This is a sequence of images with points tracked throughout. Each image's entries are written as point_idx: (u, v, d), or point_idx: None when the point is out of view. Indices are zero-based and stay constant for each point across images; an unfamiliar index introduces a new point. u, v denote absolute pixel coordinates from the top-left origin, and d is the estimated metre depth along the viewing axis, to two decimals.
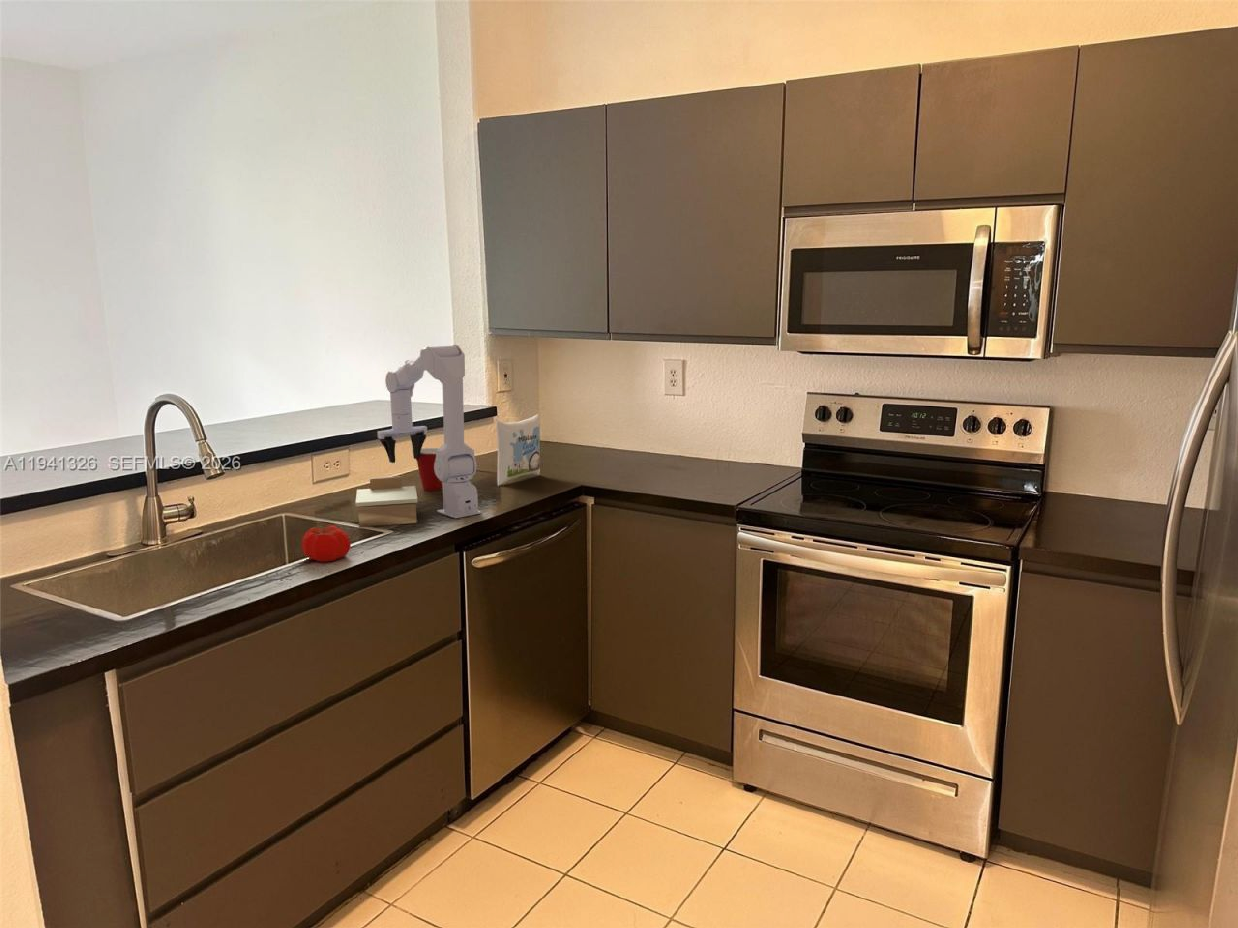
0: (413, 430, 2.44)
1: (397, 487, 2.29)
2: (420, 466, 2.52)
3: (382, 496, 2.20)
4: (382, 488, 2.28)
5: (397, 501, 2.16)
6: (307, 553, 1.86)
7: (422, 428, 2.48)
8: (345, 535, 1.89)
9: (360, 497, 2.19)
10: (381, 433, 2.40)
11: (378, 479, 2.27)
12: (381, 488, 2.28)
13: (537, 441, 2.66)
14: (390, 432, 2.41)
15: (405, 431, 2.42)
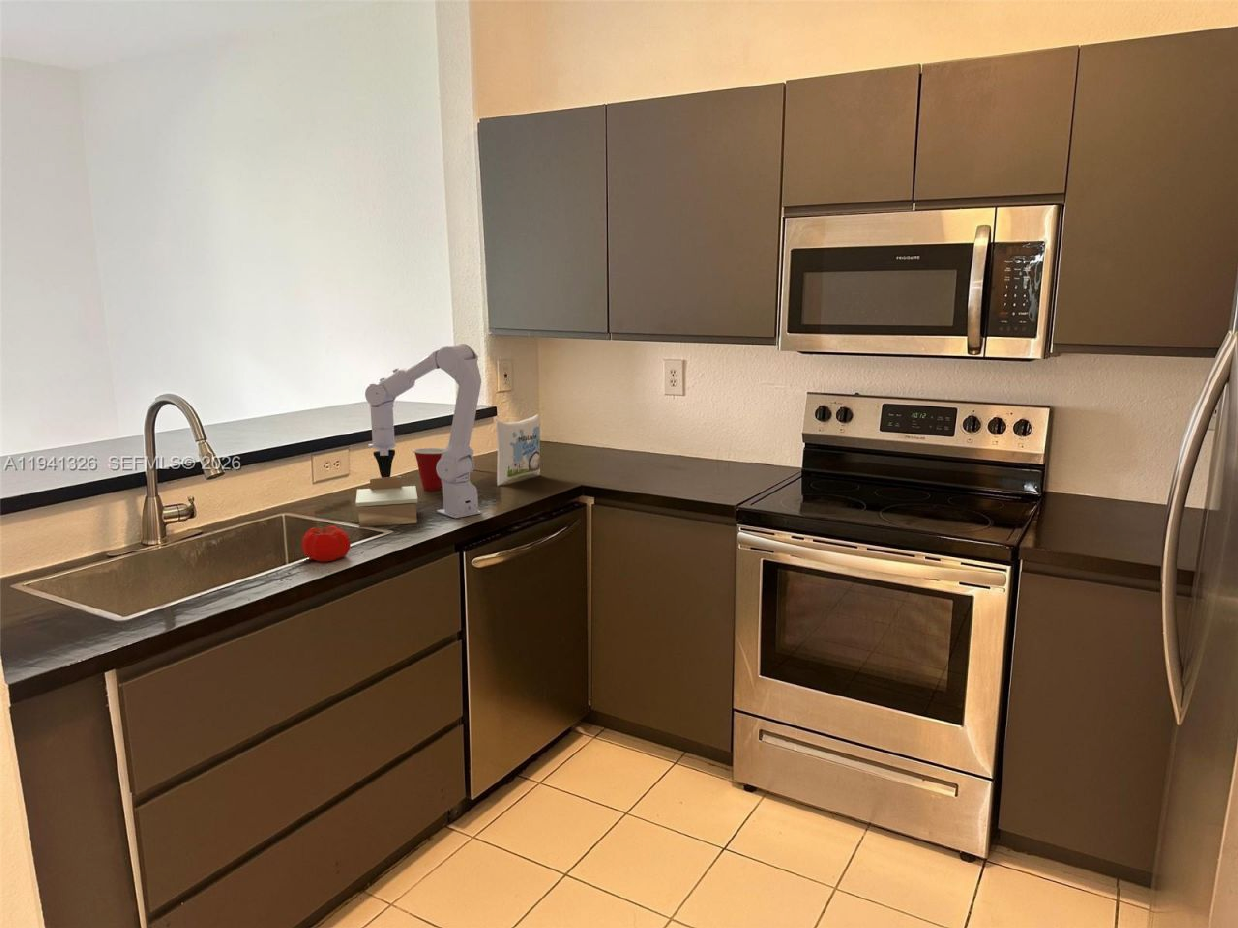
0: None
1: (397, 487, 2.29)
2: (420, 466, 2.52)
3: (382, 496, 2.20)
4: (382, 488, 2.28)
5: (397, 501, 2.16)
6: (307, 553, 1.86)
7: None
8: (345, 535, 1.89)
9: (360, 497, 2.19)
10: (387, 449, 2.25)
11: (378, 479, 2.27)
12: (381, 488, 2.28)
13: (537, 441, 2.66)
14: (390, 447, 2.28)
15: (395, 444, 2.32)
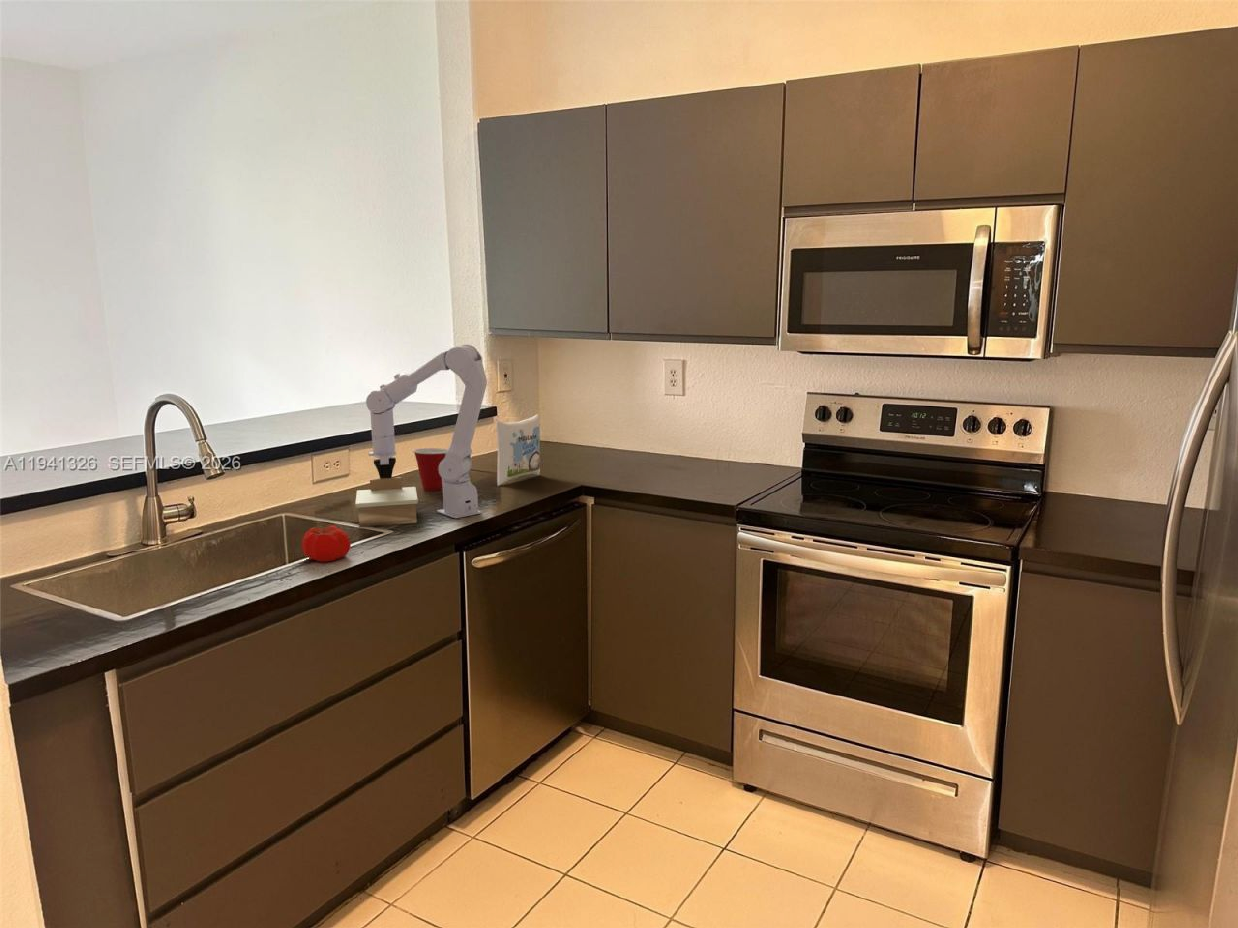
0: None
1: (397, 488, 2.28)
2: (420, 466, 2.52)
3: (382, 497, 2.19)
4: (382, 489, 2.27)
5: (397, 502, 2.15)
6: (307, 553, 1.86)
7: None
8: (345, 535, 1.89)
9: (360, 498, 2.18)
10: (388, 457, 2.21)
11: (378, 480, 2.26)
12: (381, 489, 2.27)
13: (537, 441, 2.66)
14: (390, 455, 2.24)
15: (395, 452, 2.28)
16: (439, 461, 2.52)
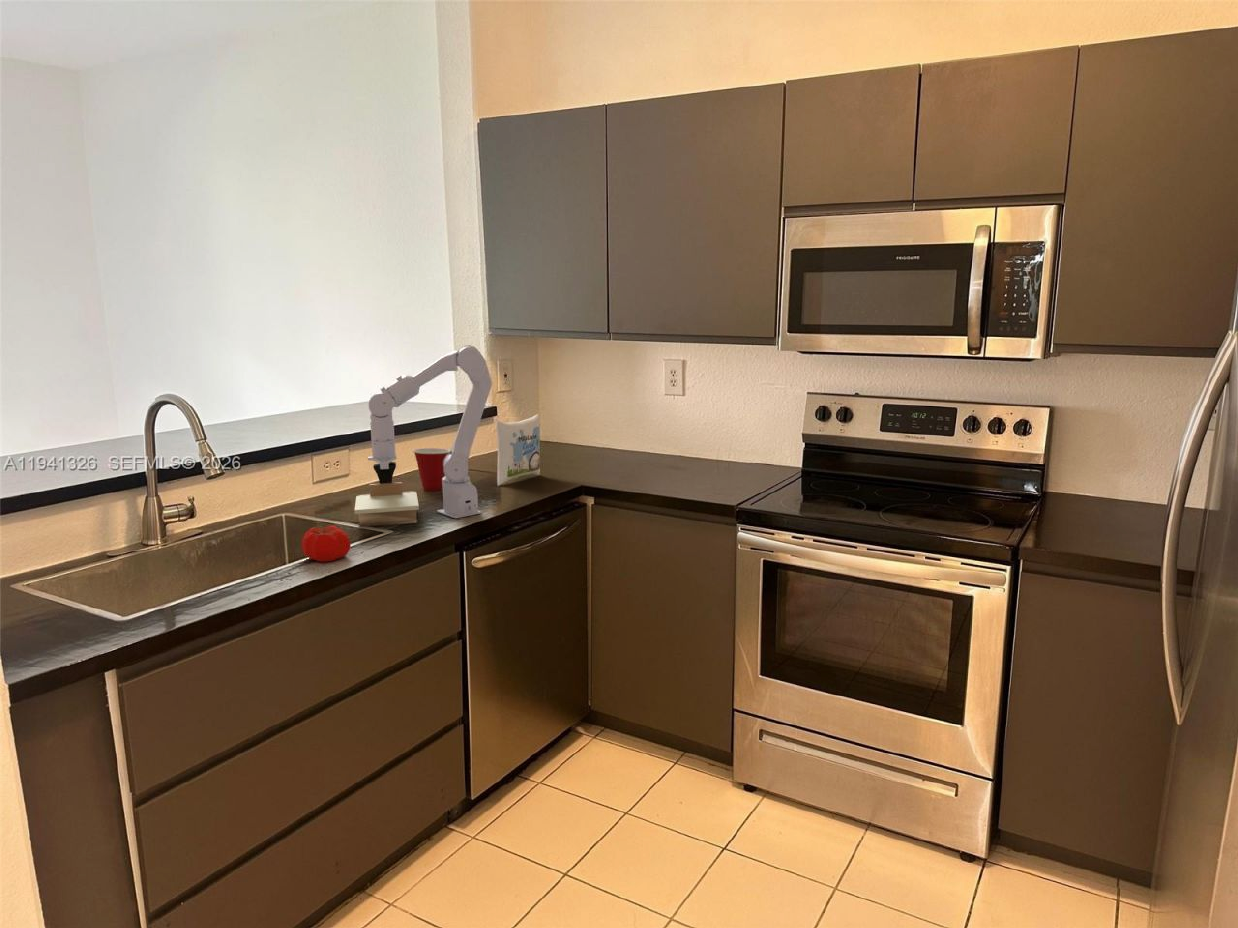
0: None
1: (398, 493, 2.21)
2: (420, 466, 2.52)
3: (382, 503, 2.13)
4: (382, 494, 2.20)
5: (398, 508, 2.09)
6: (307, 553, 1.86)
7: None
8: (345, 535, 1.89)
9: (359, 504, 2.12)
10: (388, 462, 2.15)
11: (378, 485, 2.20)
12: (381, 494, 2.20)
13: (537, 441, 2.66)
14: (390, 460, 2.17)
15: (396, 457, 2.21)
16: (439, 461, 2.52)
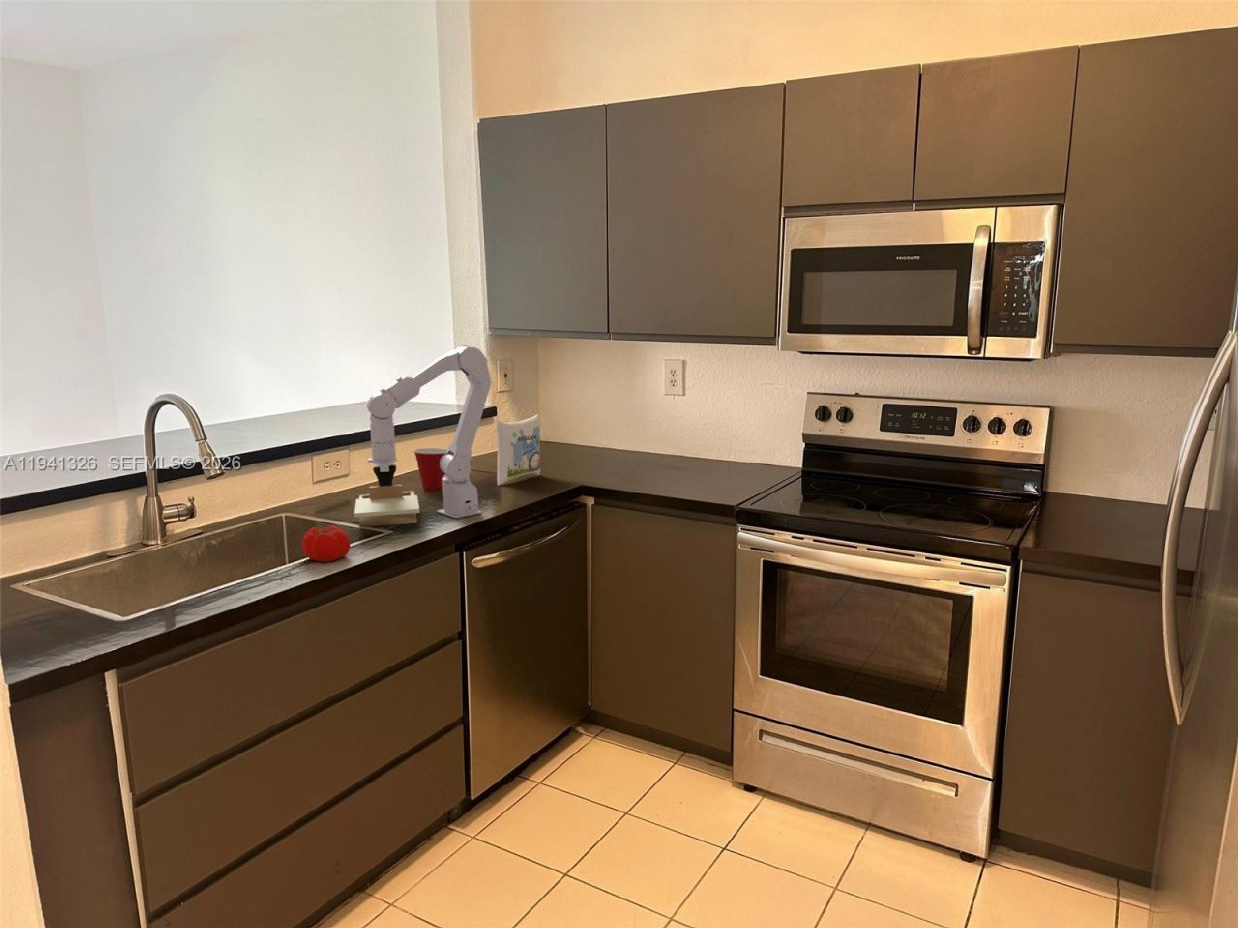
0: None
1: (398, 496, 2.18)
2: (420, 466, 2.52)
3: (382, 506, 2.09)
4: (382, 497, 2.17)
5: (398, 511, 2.06)
6: (307, 553, 1.86)
7: None
8: (345, 535, 1.89)
9: (359, 507, 2.09)
10: (388, 465, 2.12)
11: (378, 488, 2.17)
12: (381, 497, 2.17)
13: (537, 441, 2.66)
14: (390, 462, 2.14)
15: (396, 459, 2.18)
16: (439, 461, 2.52)
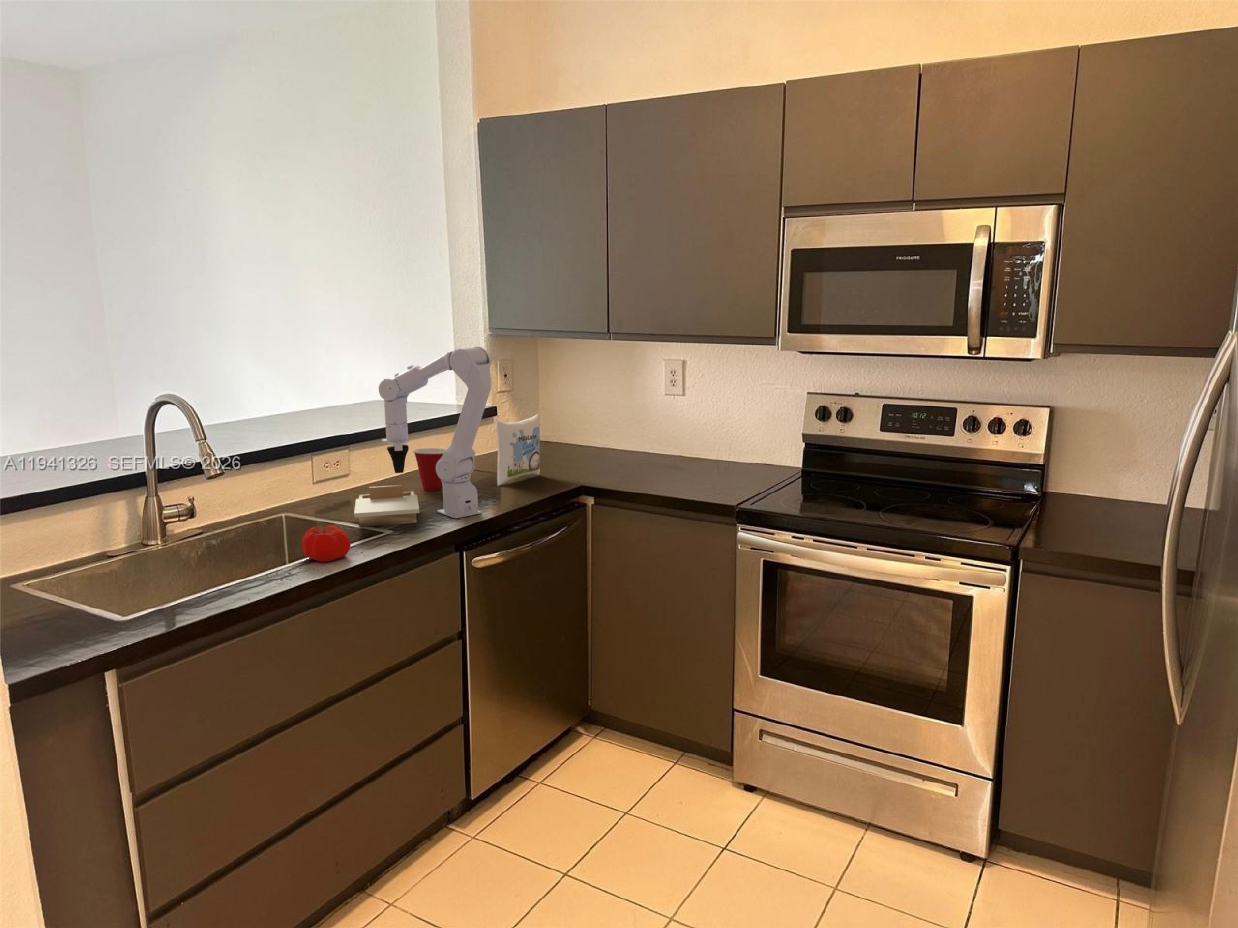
0: None
1: (398, 496, 2.18)
2: (420, 466, 2.52)
3: (382, 506, 2.09)
4: (382, 497, 2.17)
5: (398, 511, 2.06)
6: (307, 553, 1.86)
7: None
8: (345, 535, 1.89)
9: (359, 507, 2.08)
10: (402, 444, 2.25)
11: (378, 488, 2.17)
12: (381, 497, 2.17)
13: (537, 441, 2.66)
14: (404, 442, 2.28)
15: (408, 440, 2.32)
16: None
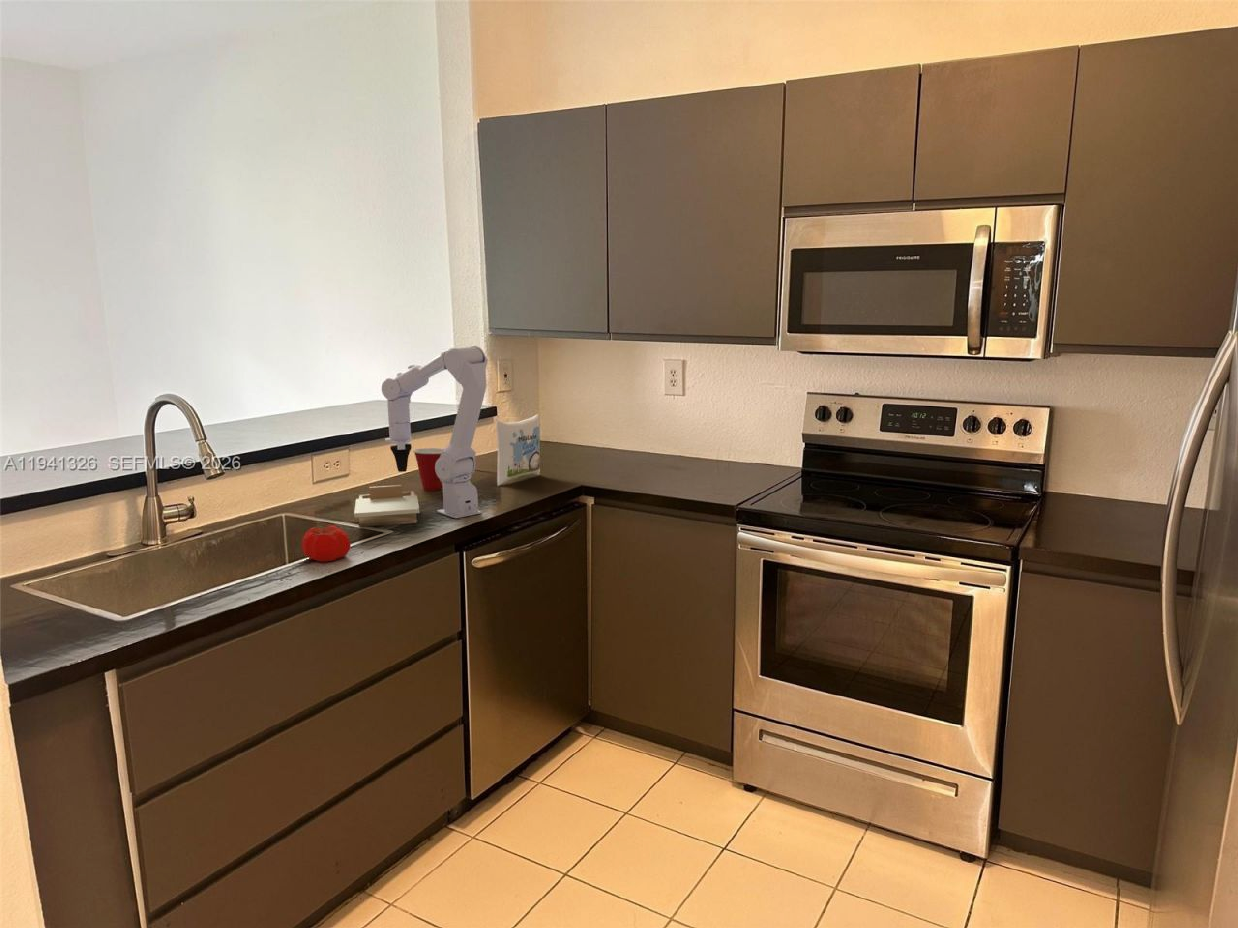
0: None
1: (398, 496, 2.18)
2: (420, 466, 2.52)
3: (382, 506, 2.09)
4: (382, 497, 2.17)
5: (398, 511, 2.06)
6: (307, 553, 1.86)
7: None
8: (345, 535, 1.89)
9: (359, 507, 2.08)
10: (404, 443, 2.27)
11: (378, 488, 2.17)
12: (381, 497, 2.17)
13: (537, 441, 2.66)
14: (406, 441, 2.30)
15: (411, 439, 2.34)
16: None
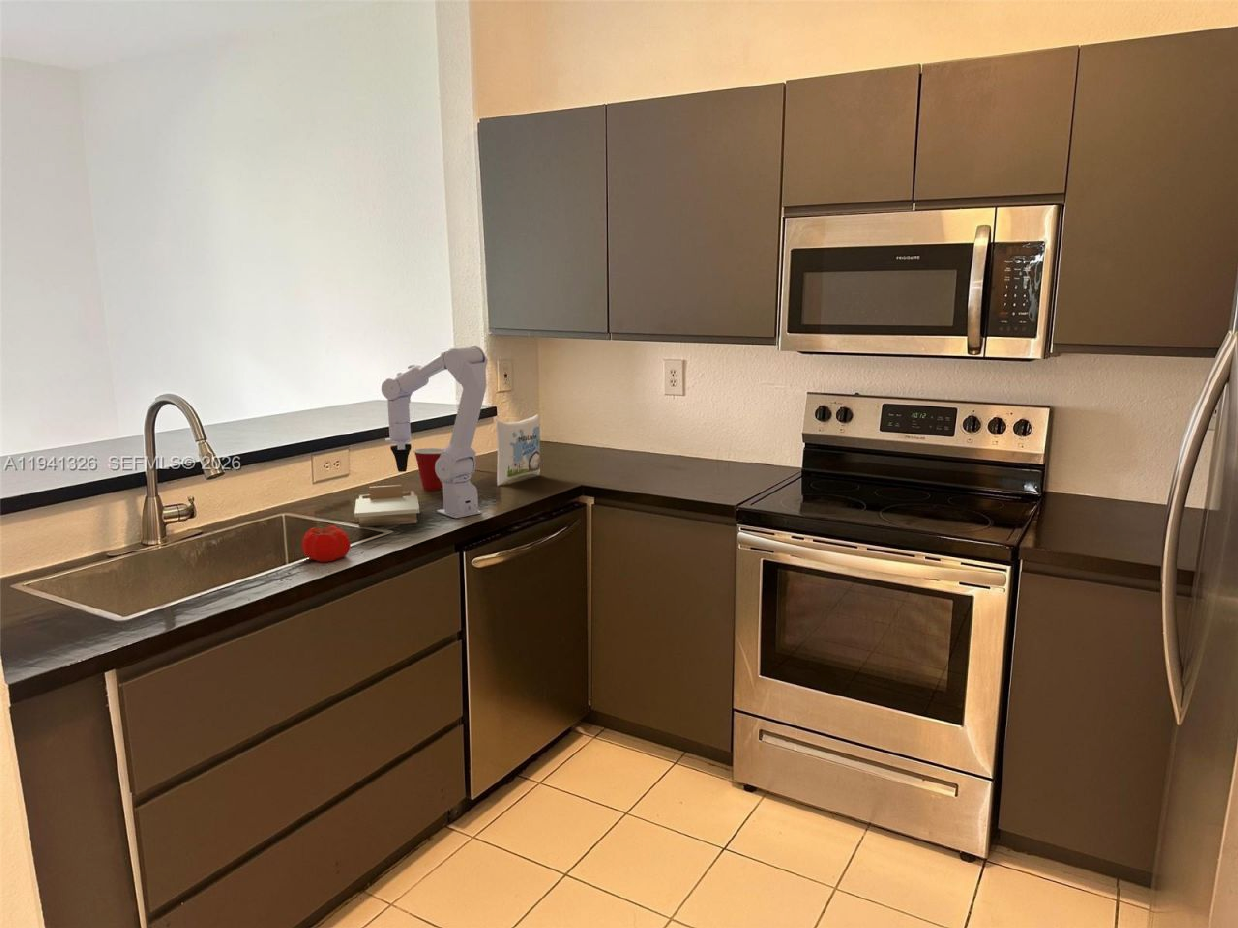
0: None
1: (398, 496, 2.18)
2: (420, 466, 2.52)
3: (382, 506, 2.09)
4: (382, 497, 2.17)
5: (398, 511, 2.06)
6: (307, 553, 1.86)
7: None
8: (345, 535, 1.89)
9: (359, 507, 2.08)
10: (404, 443, 2.27)
11: (378, 488, 2.17)
12: (381, 497, 2.17)
13: (537, 441, 2.66)
14: (406, 441, 2.30)
15: (411, 439, 2.34)
16: None
